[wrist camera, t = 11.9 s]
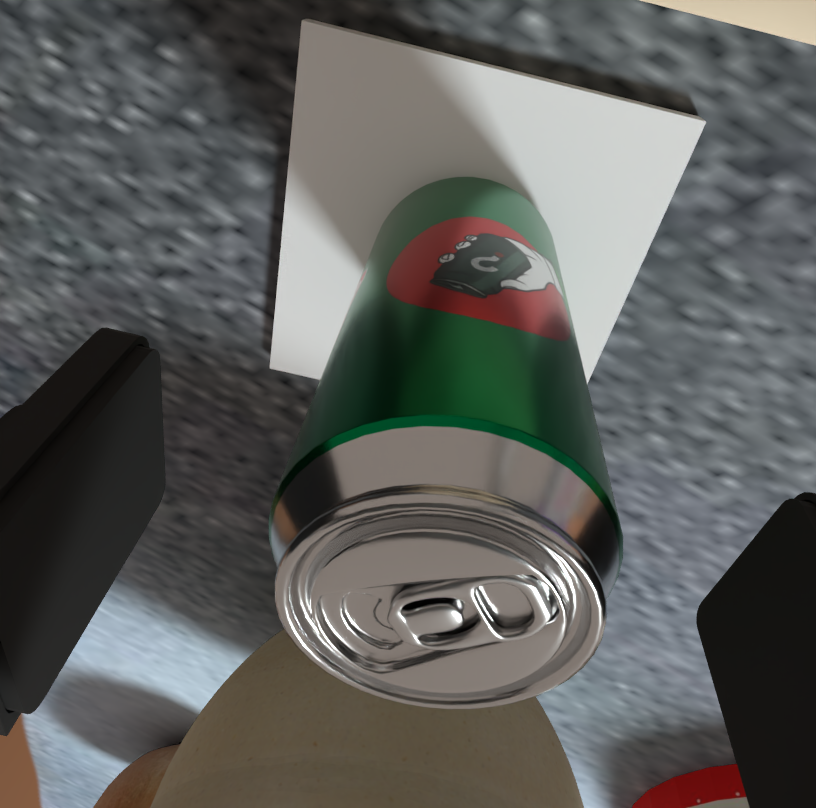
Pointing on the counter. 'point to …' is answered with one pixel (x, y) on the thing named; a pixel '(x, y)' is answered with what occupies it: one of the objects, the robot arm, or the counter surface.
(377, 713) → the planter bowl
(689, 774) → the kitchen timer
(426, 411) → the soda can
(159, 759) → the onion
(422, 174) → the rubber mat
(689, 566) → the counter surface
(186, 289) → the counter surface
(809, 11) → the header board
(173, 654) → the counter surface
